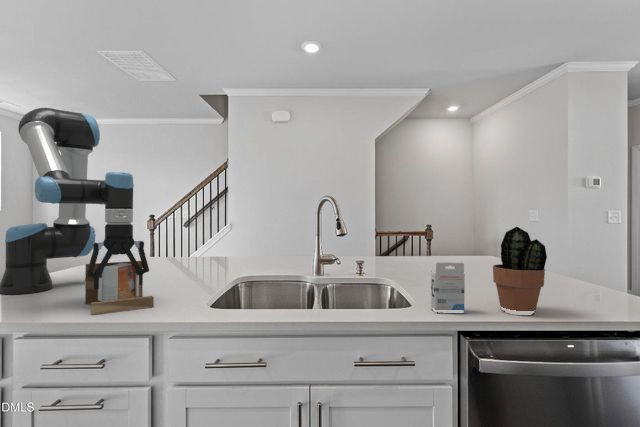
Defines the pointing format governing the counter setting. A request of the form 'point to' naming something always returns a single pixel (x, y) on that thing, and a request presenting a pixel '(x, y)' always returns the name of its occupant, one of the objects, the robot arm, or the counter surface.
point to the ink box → (448, 287)
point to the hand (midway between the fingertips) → (118, 297)
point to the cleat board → (114, 305)
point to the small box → (118, 282)
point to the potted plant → (520, 271)
